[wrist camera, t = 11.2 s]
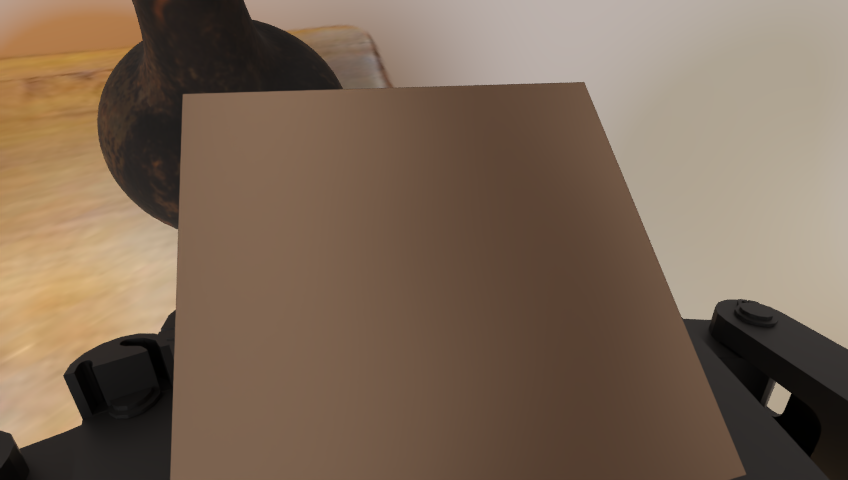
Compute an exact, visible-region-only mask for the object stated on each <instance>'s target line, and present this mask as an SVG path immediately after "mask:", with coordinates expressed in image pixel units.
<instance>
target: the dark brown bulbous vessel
mask: <svg viewBox="0 0 848 480" xmlns="http://www.w3.org/2000/svg"><path fill="white" fill-rule="evenodd" d="M132 2H133V4H134V7H135V11H136V14H137V17H138V22H139V25H140V29H141V33H142V39H143V41H141V42H140V43H139V44H137V45H136V46H135V47H134V48H133V49H131V50H130V51H129V52H128V53H127V54H126V55H125V56H124V57H123V59H122V60H121V61H120V62H119V63H118V64H117V66H116V67H115V68H114V70H113V71H112V73H111V75H110V76H109V78H108V80H107V82H106V84H105V87H104V89H103V92H102V95H101V99H100V103H99V110H98V119H97V122H98V135H99V142H100V146H101V150H102V153H103V156H104V159H105V161H106V163H107V166H108V168H109V170H110V172H111V174H112V175H113V177H114V179H115V180H116V182H117V183H118V184H119V186H120V187H121V188H122V190H123V191H124V192H125V193H126V194H127V196H128V197H129V198H130V199H131V200H132V201H133V202H134V203H136V204H137V205H138V206H139V207H140V208H141V209H143V210H144V211H145V212H147V213H148V214H150V215H151V216H152V217H154V218H156V219H158V220H160V221H161V222H163V223H165V224H167V225H170V226H172V227H174V228H176V229H178V226H179V195H180V165H181V134H182V103H183V94H204V93H238V92H271V91H305V90H339V89H342V86H341V85H340V83H339V81H338V79H337V77H336V76H335V74H334V73H333V71H332V70H331V68H330V67H329V66H328V65H327V63H326V62H325V61H324V60H323V59H322V58H321V57H320V56H319V55H318V54H317V53H316V52H315V51H314V50H313V49H312V48H310V47H309V46H308V45H307V44H305V43H304V42H303V41H301V40H300V39H298V38H296V37H295V36H293V35H291V34H289V33H287V32H286V31H283V30H281V29H279V28H277V27H275V26H272V25H269V24H266V23H262V22H259V21H256V20H252V19H251V17H250V15H249V13H248V10H247V8H246V6H245V3H244V0H132Z"/></svg>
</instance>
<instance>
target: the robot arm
mask: <svg viewBox="0 0 848 480" xmlns="http://www.w3.org/2000/svg"><path fill="white" fill-rule="evenodd" d="M681 318H682V317H681ZM175 319H176V310H175V311H174V312H172V313H171V314H170V315H169V316H168V318H167V320H166V321H165V323H164V325H163V326H162V328H161V332H159V333H158V335H157V334H134V335H129V336H124V337H120V338H117V339H114V340H111V341H109V342H106V343H103V344H101V345H99V346H97V347H95V348H93V349H91V350H89V351H88V352H86V353H84V354H83V355H81V356H80V357H79V358H78V359H77V360H75V361H74V362H73V363H72V364H70V366H69V367H68V369H67V371H66V372H65V374H64V375H63V376H64V379H65V381H66V383H67V385H68V388H69V390H70V392H71V394H72V396H73V399H74V401H75V403H76V405H77V408H78V410H79V412H80V414H81V416H82V419H83V421H82V425H80V426H78V427H76V428H73V429H71V430H69V431H66V432H64V433H61V434H58V435H56V436H53V437H50V438H48V439H45V440H42V441H39V442H37V443H34V444H31V445H29V446H26V447H23V448H20V449H19V448H18V446H17V444H16V442H15V440H14V439H13V437H12V435H11V434H10V433H6V432H3V431H0V480H170V473H171V442H172V411H173V380H174V349H175ZM682 320H683V322H684V325H685V327H686V330H687V332H688V334H689V337H690V339H691V342H692V344H693V347H694V349H695V351H696V354H697V356H698V359H699V361H700V363H701V366H702V368H703V371H704V373H705V376H706V378H707V380H708V383H709V385H710V388H711V390H712V392H713V395H714V397H715V400H716V402H717V405H718V407H719V409H720V412H721V414H722V417H723V419H724V421H725V424H726V426H727V429H728V431H729V434H730V436H731V438H732V441H733V443H734V446H735V448H736V451H737V453H738V455H739V458H740V460H741V463H742V465H743V467H744V470H745V472H746V475H743V476H740V477H736V478H733V479H729V480H848V349H846V348H844V347H842V346H841V345H839V344H837V343H835V342H833V341H832V340H830V339H828V338H826V337H825V336H823V335H821V334H819V333H817V332H816V331H814V330H812V329H810V328H808V327H807V326H805V325H803V324H801V323H800V322H798V321H796V320H794V319H792V318H790V317H789V316H787V315H785V314H783V313H782V312H779V311H777V310H775V309H773V308H771V307H768V306H765V305H762V304H759V303H758V302H755V301H750V300H748V301H747V300H742V299H739V300H724V301H721V302H718V304H717V305H716V307H715V310H714V313H713V316H712V320H696V319H683V318H682ZM776 382H777V383H778V384H780V385H781V386H783V387H784V388H785V389H787V390H788V391H789V392H791V393H792V394H791V396H790V399H789V401H788V403H787V405H786V408H785V410H784V412H783V413H782V414H777V413H775V412H774V411H772V410H771V409H769V408H768V407H767V403H768V401H769V398H770V396H771V393H772V391H773V388H774V386H775V383H776Z"/></svg>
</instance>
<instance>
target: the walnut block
mask: <svg viewBox="0 0 848 480" xmlns="http://www.w3.org/2000/svg"><path fill="white" fill-rule="evenodd" d="M743 475H746V472H745V470H744V467H743V465H742V463H741V460H740V458H739V455H738V453H737V451H736V448H735V446H734V443H733V441H732V438H731V436H730V434H729V431H728V429H727V426H726V424H725V421H724V419H723V417H722V414H721V412H720V409H719V407H718V405H717V402H716V400H715V397H714V395H713V392H712V390H711V388H710V385H709V383H708V380H707V378H706V376H705V373H704V371H703V368H702V366H701V363H700V361H699V359H698V356H697V354H696V351H695V349H694V347H693V344H692V342H691V339H690V337H689V334H688V332H687V330H686V327H685V325H684V322H683V320H682V318H681V315H680V313H679V311H678V308H677V305H676V303H675V301H674V299H673V296H672V293H671V291H670V289H669V286H668V284H667V282H666V279H665V277H664V274H663V272H662V269H661V267H660V264H659V262H658V260H657V257H656V255H655V252H654V250H653V247H652V245H651V243H650V240H649V238H648V235H647V233H646V231H645V228H644V226H643V223H642V221H641V218H640V216H639V214H638V211H637V209H636V206H635V204H634V202H633V199H632V197H631V194H630V192H629V189H628V187H627V185H626V182H625V180H624V177H623V175H622V172H621V170H620V168H619V165H618V163H617V160H616V158H615V155H614V153H613V151H612V148H611V146H610V144H609V141H608V139H607V136H606V134H605V131H604V129H603V127H602V124H601V122H600V119H599V117H598V114H597V112H596V110H595V107H594V105H593V102H592V100H591V98H590V95H589V93H588V90H587V88H586V85H585V83H584V82H576V83H542V84H507V85H474V86H440V87H406V88H372V89H339V90H305V91H271V92H238V93H204V94H183V103H182V134H181V165H180V195H179V226H178V257H177V288H176V319H175V349H174V380H173V411H172V442H171V473H170V480H729V479H733V478H736V477H740V476H743Z"/></svg>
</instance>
